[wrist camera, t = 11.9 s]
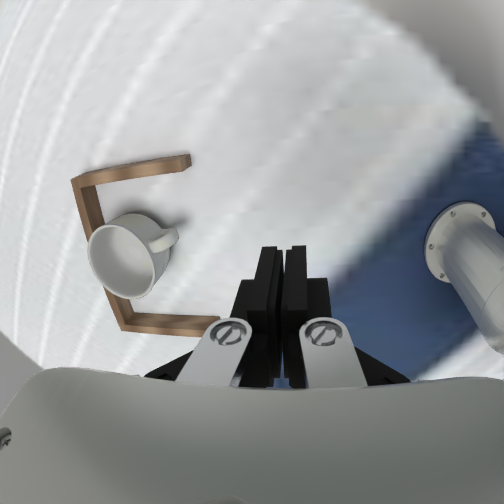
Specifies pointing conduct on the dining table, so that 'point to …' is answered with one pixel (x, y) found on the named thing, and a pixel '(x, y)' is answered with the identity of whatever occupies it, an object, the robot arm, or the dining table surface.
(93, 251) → the teacup
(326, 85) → the dining table surface
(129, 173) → the walnut bay
